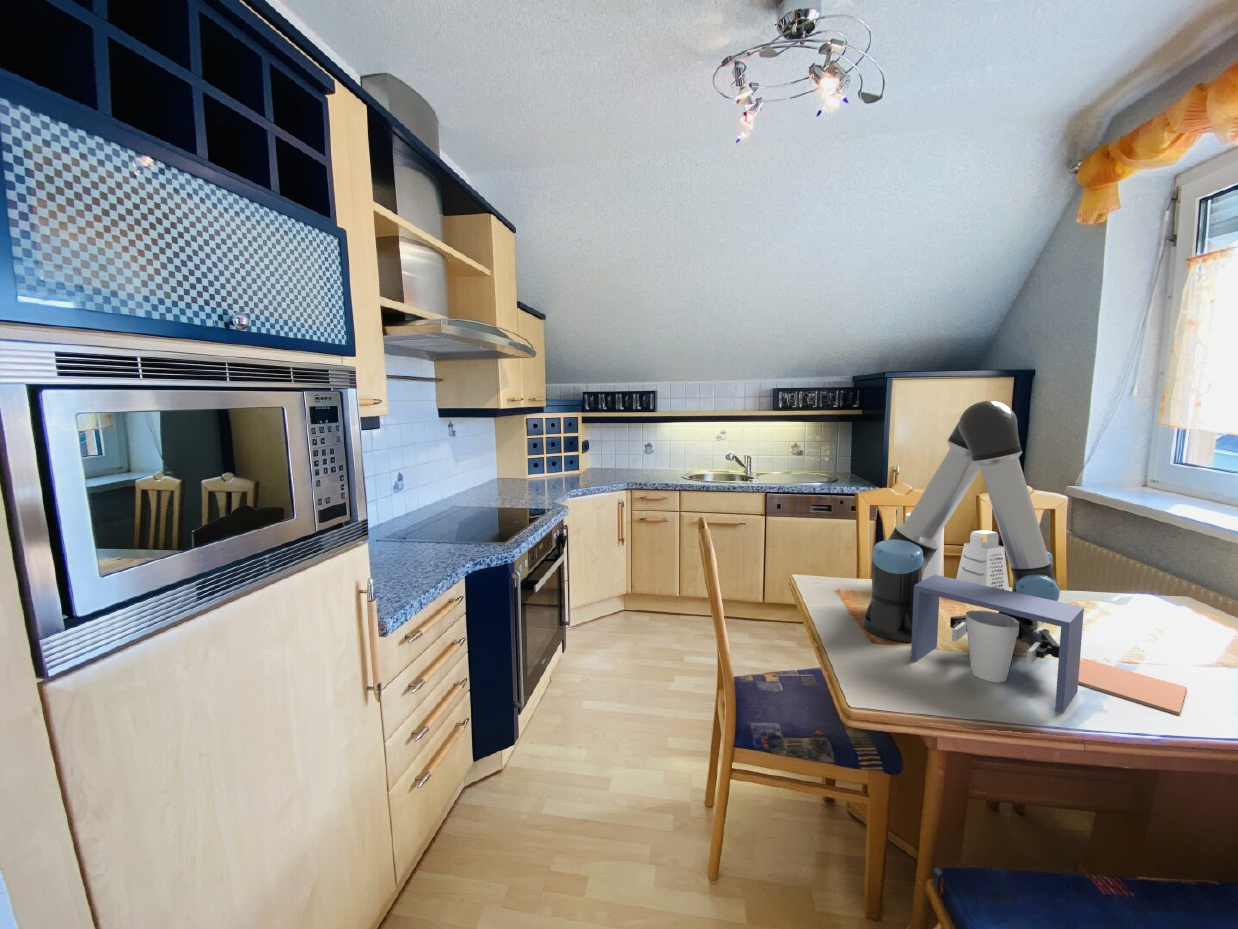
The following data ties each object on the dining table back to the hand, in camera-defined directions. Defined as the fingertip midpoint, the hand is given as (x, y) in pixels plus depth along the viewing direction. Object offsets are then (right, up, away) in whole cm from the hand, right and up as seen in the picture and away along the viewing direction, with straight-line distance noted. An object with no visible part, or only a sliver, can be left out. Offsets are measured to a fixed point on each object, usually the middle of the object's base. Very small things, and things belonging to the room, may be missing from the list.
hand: (989, 646), depth 108 cm
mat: (+27, -7, -3) cm, 28 cm away
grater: (+36, -2, +52) cm, 64 cm away
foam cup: (+2, -7, +2) cm, 8 cm away
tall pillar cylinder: (+19, -2, +55) cm, 58 cm away
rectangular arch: (+2, -7, +2) cm, 8 cm away
